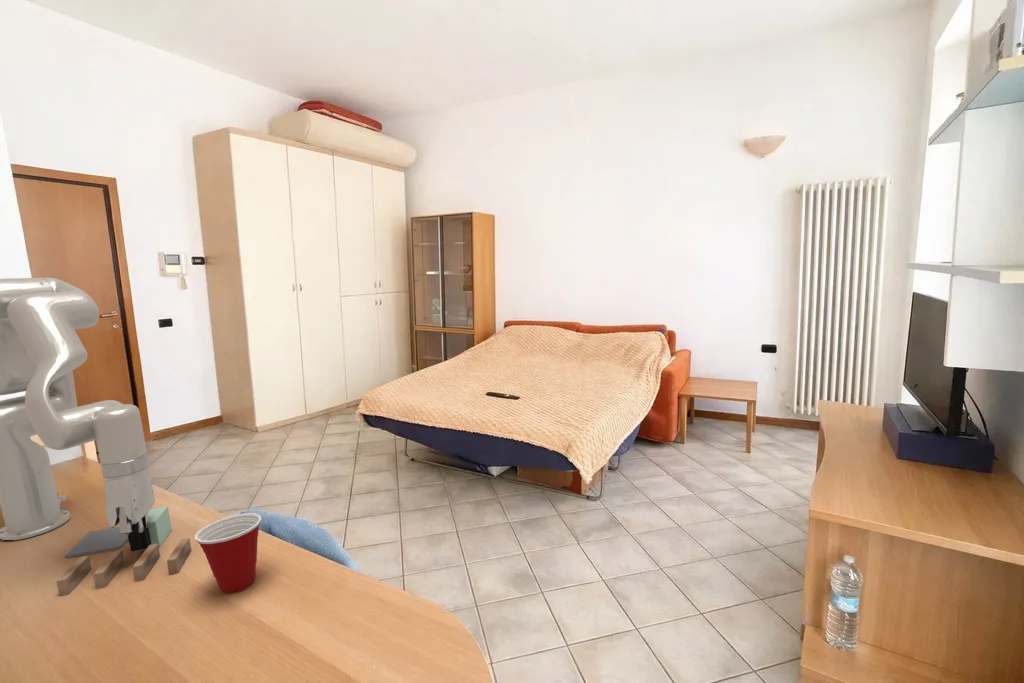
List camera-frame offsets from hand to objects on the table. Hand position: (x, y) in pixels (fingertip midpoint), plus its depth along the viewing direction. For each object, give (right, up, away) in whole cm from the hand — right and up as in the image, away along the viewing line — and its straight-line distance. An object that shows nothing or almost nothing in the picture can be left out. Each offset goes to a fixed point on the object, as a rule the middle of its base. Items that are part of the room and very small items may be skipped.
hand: (141, 548), depth 103 cm
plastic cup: (+26, -2, -10) cm, 28 cm away
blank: (-1, -1, +6) cm, 6 cm away
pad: (-13, -1, +7) cm, 15 cm away
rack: (+2, -3, -5) cm, 6 cm away
